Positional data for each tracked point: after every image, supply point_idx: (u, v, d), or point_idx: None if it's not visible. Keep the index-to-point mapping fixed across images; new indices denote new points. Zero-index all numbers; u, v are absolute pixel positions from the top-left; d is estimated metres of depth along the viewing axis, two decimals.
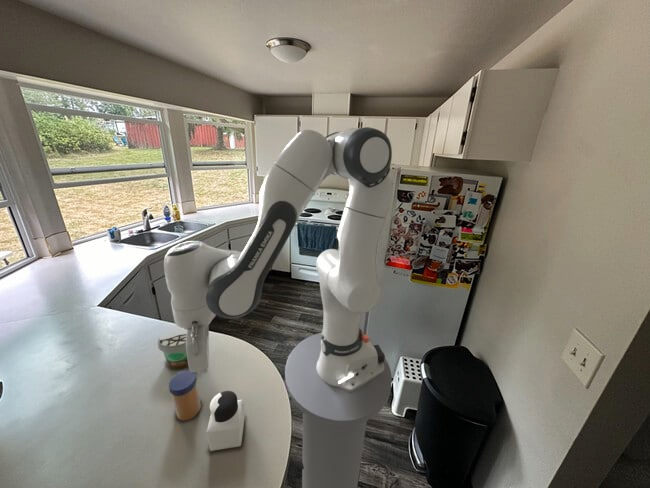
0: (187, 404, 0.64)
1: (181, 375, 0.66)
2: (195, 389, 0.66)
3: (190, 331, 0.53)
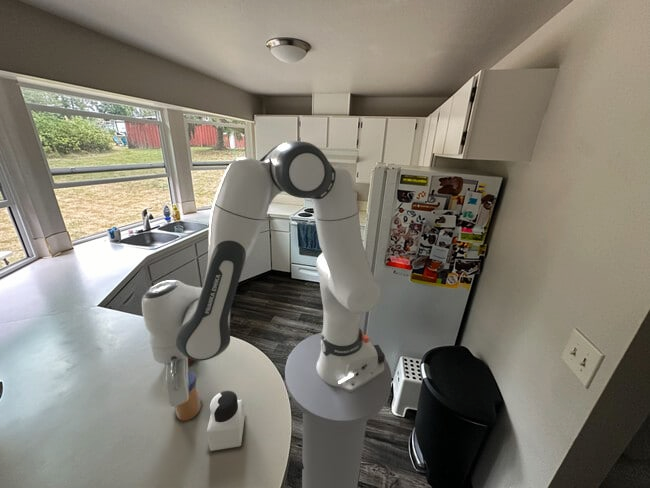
0: (187, 404, 0.64)
1: None
2: (195, 389, 0.66)
3: (169, 366, 0.56)
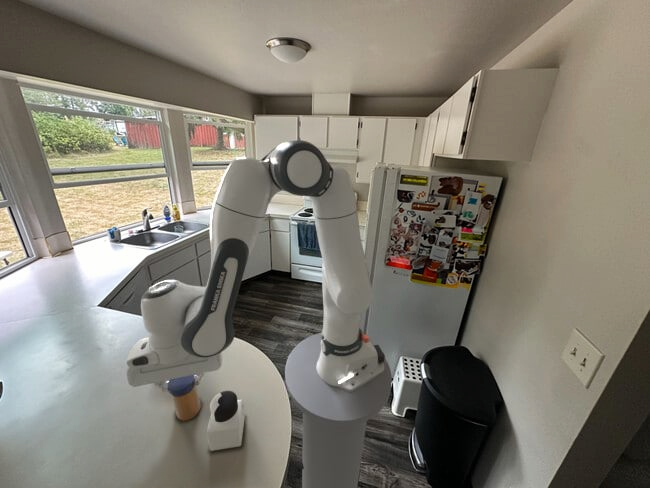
0: (187, 404, 0.64)
1: (174, 382, 0.63)
2: (195, 389, 0.65)
3: None
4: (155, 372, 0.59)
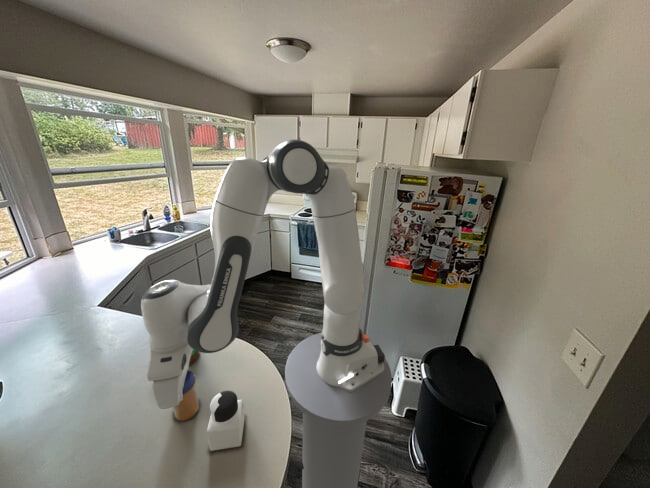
0: (187, 403, 0.64)
1: None
2: (194, 388, 0.66)
3: None
4: (181, 375, 0.59)
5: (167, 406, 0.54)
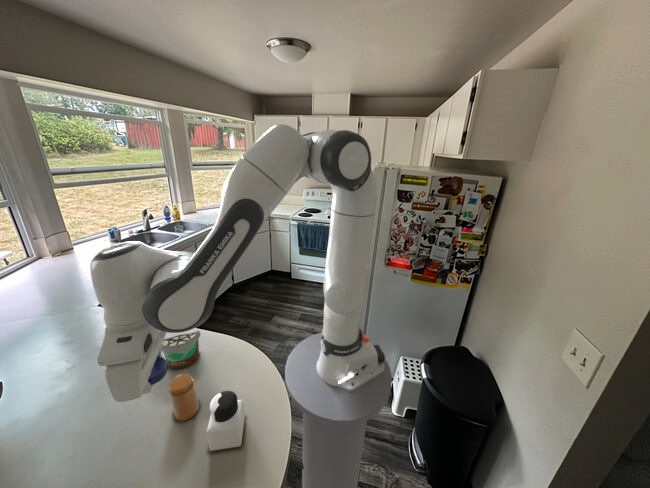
0: (187, 403, 0.64)
1: None
2: (194, 387, 0.66)
3: None
4: (147, 361, 0.47)
5: (125, 398, 0.42)
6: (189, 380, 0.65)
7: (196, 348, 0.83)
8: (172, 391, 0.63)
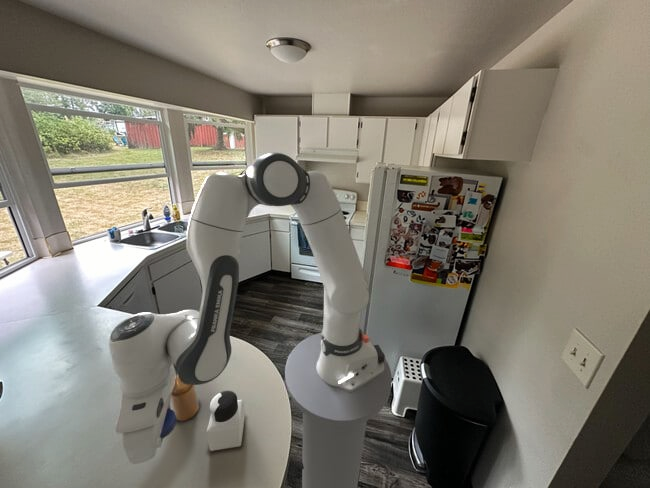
0: (187, 403, 0.64)
1: None
2: (194, 387, 0.66)
3: None
4: (159, 420, 0.52)
5: (140, 460, 0.47)
6: None
7: None
8: (172, 391, 0.63)
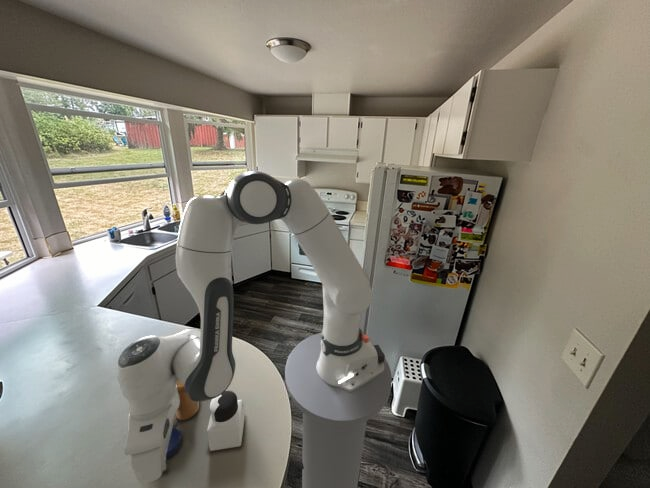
0: (189, 401, 0.65)
1: None
2: None
3: None
4: (165, 439, 0.54)
5: (148, 480, 0.49)
6: None
7: None
8: None
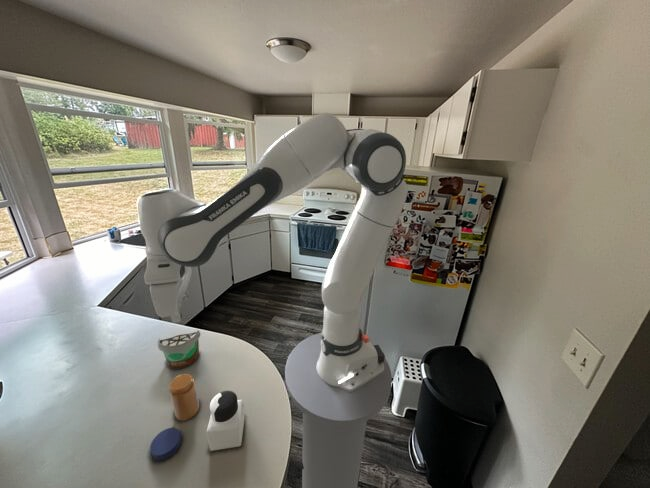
0: (188, 403, 0.64)
1: (164, 447, 0.58)
2: (194, 387, 0.66)
3: None
4: (180, 289, 0.57)
5: (165, 313, 0.52)
6: (190, 380, 0.65)
7: (196, 348, 0.83)
8: (173, 391, 0.63)
